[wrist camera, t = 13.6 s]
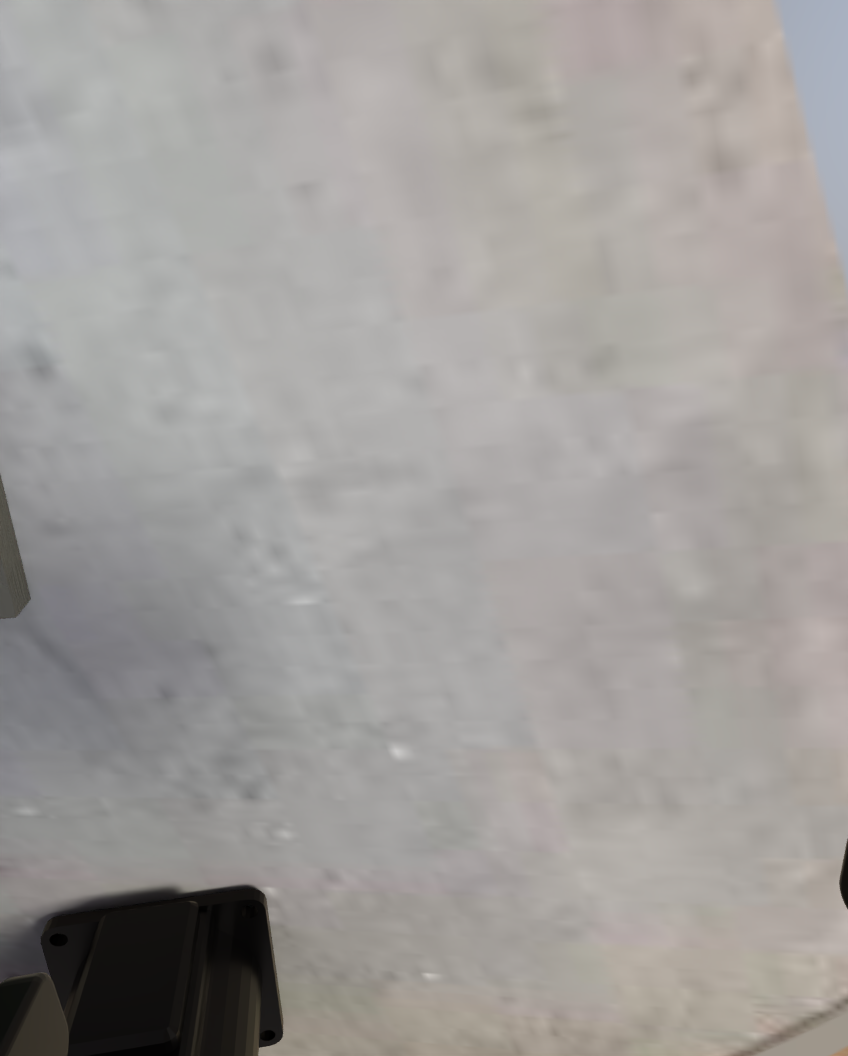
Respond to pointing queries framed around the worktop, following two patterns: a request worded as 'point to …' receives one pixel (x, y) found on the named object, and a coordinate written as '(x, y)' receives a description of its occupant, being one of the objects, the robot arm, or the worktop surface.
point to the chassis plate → (10, 566)
